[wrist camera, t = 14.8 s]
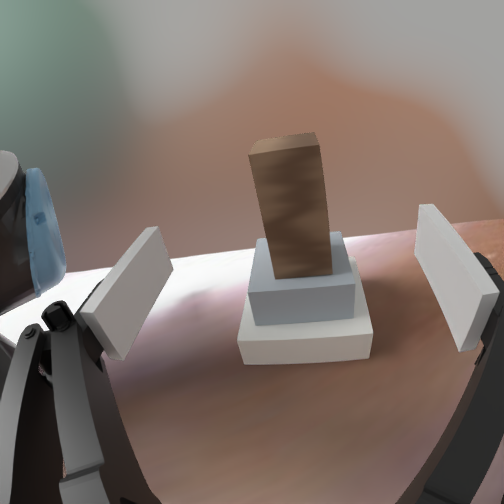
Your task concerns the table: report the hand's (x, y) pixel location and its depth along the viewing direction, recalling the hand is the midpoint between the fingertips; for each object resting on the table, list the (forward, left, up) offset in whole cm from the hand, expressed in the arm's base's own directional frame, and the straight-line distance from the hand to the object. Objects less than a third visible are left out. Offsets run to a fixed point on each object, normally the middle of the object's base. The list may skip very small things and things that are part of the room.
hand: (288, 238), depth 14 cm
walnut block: (0, +11, -8) cm, 14 cm away
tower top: (0, +11, -13) cm, 17 cm away
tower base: (0, +11, -17) cm, 20 cm away
